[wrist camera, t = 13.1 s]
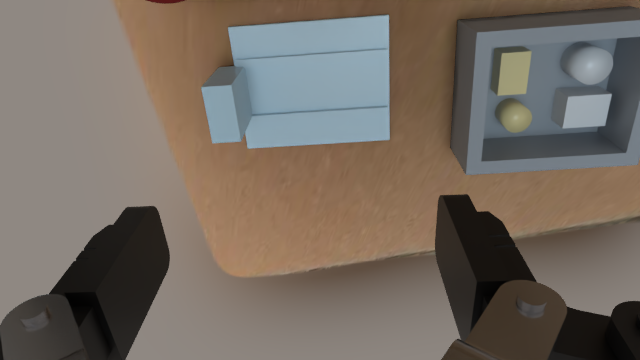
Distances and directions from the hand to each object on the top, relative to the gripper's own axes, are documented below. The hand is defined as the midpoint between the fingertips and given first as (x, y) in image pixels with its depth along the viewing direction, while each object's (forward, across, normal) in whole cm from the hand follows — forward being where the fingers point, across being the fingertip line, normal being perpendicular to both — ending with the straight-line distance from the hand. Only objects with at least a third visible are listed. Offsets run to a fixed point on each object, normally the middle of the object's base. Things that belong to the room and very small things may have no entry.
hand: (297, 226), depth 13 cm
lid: (+24, +1, +3) cm, 24 cm away
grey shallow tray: (+24, -16, +4) cm, 29 cm away
